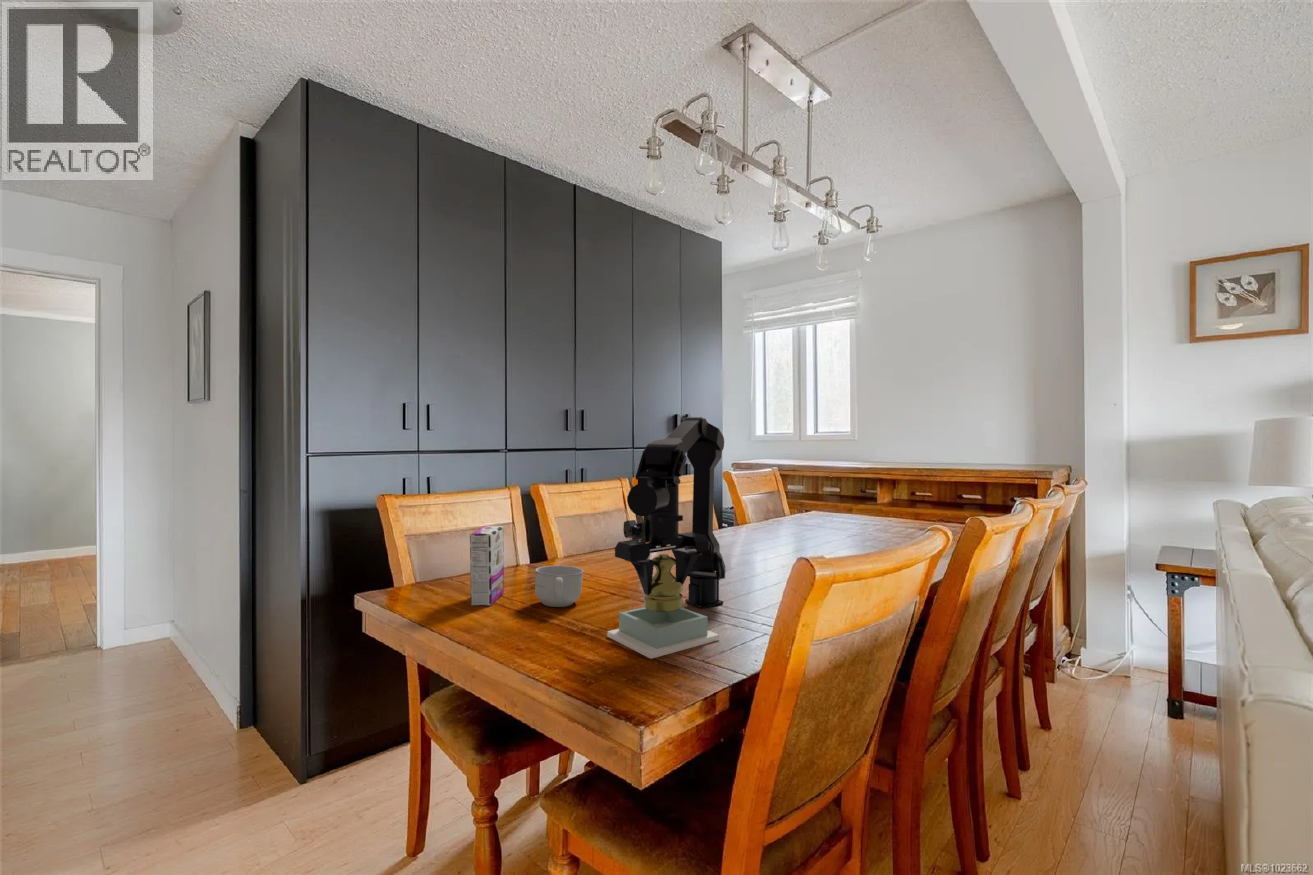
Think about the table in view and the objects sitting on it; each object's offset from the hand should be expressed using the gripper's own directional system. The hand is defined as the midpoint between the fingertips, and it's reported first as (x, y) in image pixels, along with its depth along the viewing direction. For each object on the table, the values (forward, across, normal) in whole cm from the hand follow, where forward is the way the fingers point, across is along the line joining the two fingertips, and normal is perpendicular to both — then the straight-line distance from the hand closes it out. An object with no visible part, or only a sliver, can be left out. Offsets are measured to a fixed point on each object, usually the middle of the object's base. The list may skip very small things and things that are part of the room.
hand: (663, 591), depth 114 cm
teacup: (+9, +6, -31) cm, 33 cm away
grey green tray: (+9, 0, 0) cm, 9 cm away
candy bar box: (+9, +17, -45) cm, 49 cm away
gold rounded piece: (+3, 0, 0) cm, 3 cm away
